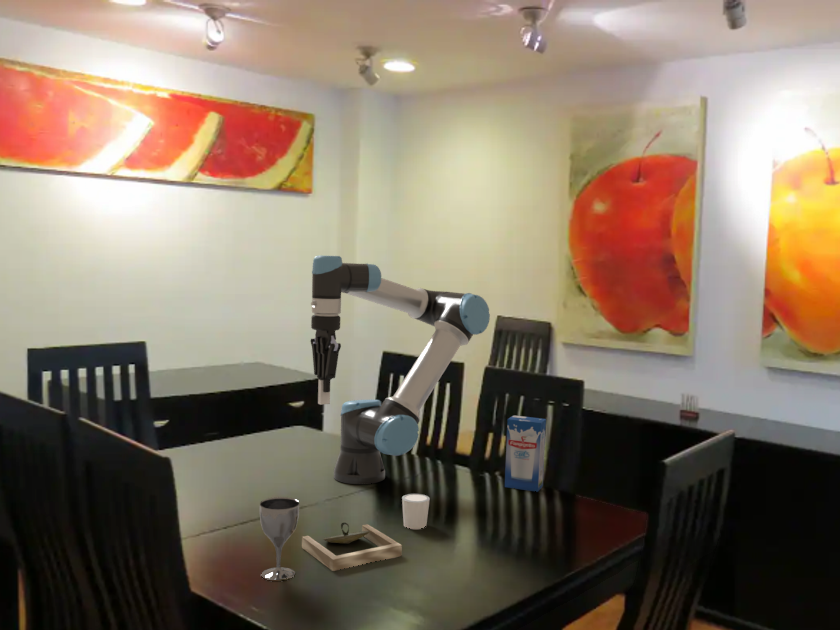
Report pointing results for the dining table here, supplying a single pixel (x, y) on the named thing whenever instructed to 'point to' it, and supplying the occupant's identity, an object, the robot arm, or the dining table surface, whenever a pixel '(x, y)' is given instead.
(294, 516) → the wine glass
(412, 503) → the white cup
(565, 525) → the dining table surface
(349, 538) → the lid
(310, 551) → the wooden u-shaped frame
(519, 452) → the milk carton
